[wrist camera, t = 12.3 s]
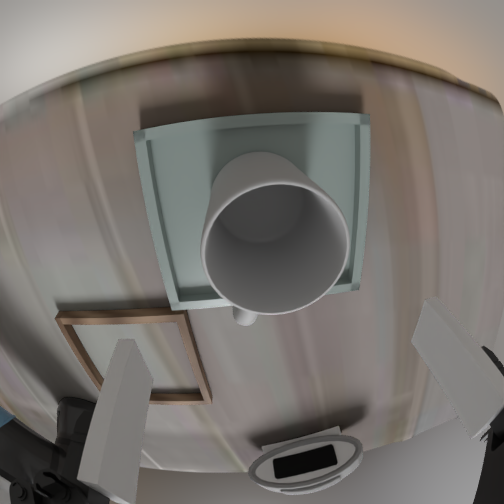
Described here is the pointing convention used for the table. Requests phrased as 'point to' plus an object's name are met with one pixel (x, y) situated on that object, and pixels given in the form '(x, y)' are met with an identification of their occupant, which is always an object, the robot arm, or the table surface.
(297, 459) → the alarm clock
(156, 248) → the tray
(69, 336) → the frame
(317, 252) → the mug
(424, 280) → the table surface
